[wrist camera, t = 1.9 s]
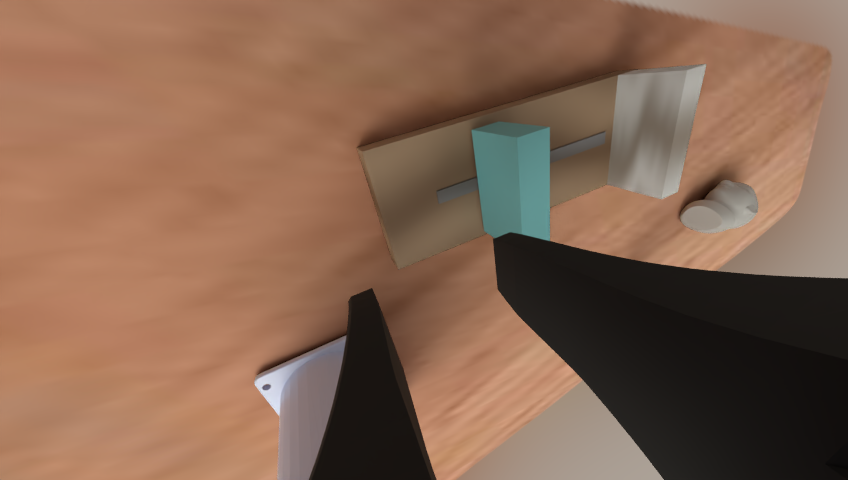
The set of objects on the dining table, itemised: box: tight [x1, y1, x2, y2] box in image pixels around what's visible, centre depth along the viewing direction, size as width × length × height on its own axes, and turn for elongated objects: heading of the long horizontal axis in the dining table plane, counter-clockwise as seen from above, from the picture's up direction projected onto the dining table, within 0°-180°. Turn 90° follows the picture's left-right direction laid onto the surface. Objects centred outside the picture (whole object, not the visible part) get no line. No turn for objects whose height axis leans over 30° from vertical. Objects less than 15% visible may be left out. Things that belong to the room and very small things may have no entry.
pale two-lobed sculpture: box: [680, 180, 758, 233], centre depth 30 cm, size 4×8×5 cm
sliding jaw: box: [472, 122, 550, 241], centre depth 17 cm, size 6×2×4 cm, turn 12°
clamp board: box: [357, 64, 706, 270], centre depth 18 cm, size 8×19×6 cm, turn 102°
